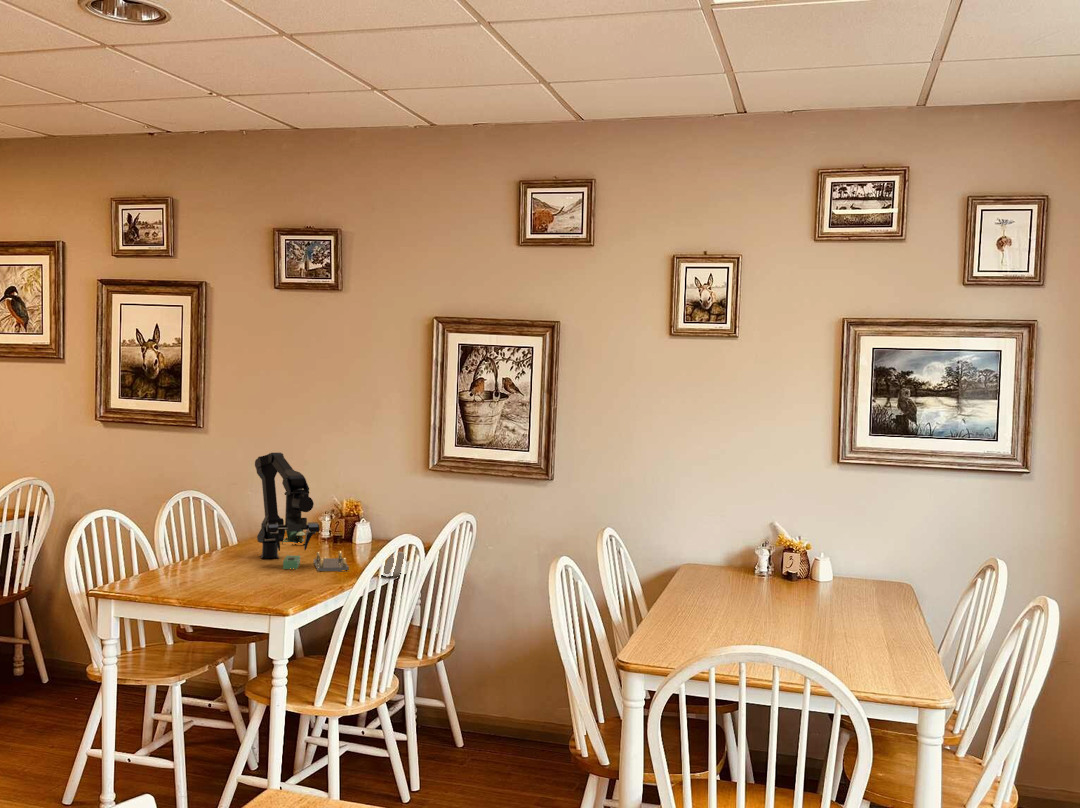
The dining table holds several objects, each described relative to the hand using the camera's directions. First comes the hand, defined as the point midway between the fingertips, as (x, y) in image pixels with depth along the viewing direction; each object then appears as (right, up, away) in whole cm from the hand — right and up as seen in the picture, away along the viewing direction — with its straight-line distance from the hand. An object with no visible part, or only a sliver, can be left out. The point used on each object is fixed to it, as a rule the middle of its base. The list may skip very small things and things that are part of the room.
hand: (292, 550), depth 356 cm
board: (0, -6, 0) cm, 6 cm away
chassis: (+14, -7, +3) cm, 15 cm away
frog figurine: (-11, -5, +46) cm, 48 cm away
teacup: (+37, -8, -7) cm, 38 cm away
